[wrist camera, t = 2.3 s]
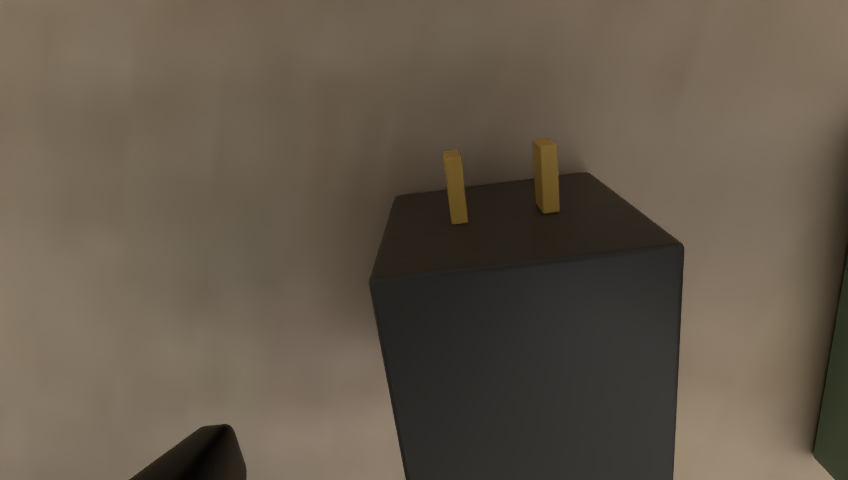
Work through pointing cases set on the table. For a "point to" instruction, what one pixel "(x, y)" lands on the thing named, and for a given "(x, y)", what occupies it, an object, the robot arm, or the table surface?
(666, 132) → the table surface
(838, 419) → the switch box
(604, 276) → the charger head
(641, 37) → the table surface
